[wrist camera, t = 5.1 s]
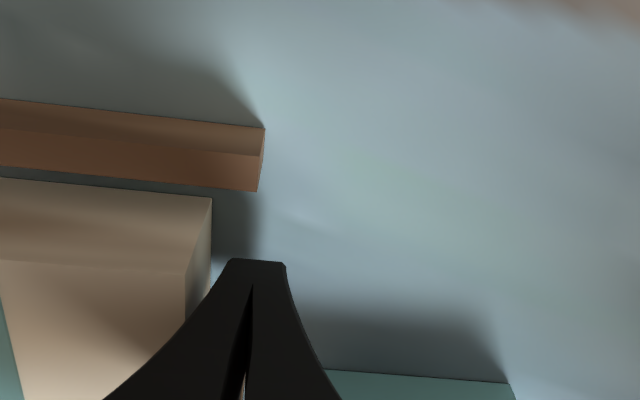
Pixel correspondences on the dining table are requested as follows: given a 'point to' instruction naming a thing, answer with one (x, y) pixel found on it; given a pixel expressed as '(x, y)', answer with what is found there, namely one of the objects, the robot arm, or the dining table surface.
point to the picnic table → (130, 146)
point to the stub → (93, 283)
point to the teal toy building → (413, 387)
